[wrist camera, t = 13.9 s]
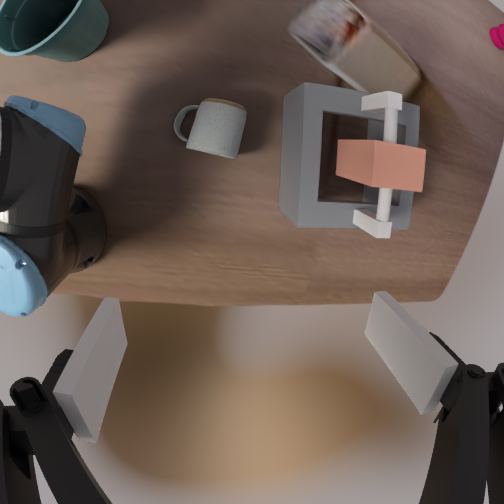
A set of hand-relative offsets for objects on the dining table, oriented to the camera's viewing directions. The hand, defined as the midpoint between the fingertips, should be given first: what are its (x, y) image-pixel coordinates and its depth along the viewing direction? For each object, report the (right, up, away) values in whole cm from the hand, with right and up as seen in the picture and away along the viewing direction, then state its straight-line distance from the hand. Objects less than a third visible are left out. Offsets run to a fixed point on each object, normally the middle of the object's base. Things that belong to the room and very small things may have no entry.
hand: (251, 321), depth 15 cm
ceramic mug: (-7, +23, +31) cm, 39 cm away
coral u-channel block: (+15, +16, +25) cm, 33 cm away
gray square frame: (+14, +20, +34) cm, 42 cm away
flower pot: (-30, +41, +21) cm, 55 cm away
